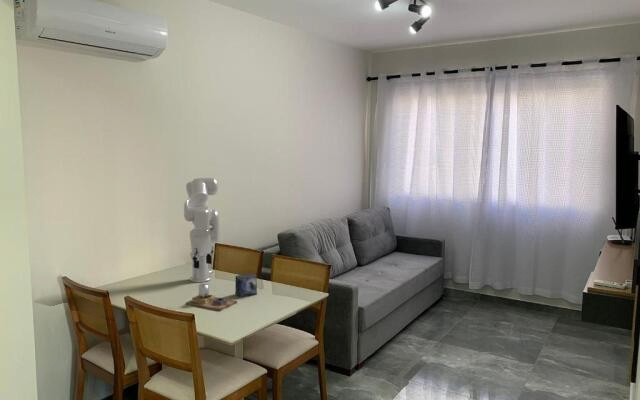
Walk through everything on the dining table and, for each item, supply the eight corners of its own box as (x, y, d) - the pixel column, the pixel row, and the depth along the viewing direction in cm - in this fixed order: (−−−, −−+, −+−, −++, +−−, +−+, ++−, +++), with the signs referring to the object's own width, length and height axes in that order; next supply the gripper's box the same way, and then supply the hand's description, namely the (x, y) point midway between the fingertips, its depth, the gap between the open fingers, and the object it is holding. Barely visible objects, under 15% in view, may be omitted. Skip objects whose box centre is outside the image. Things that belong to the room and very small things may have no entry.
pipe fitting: (203, 298, 255) (202, 283, 254) (210, 299, 253) (210, 284, 252) (196, 300, 250) (196, 286, 249) (204, 302, 248) (204, 287, 247)
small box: (238, 297, 260) (238, 278, 259) (235, 294, 265) (234, 275, 264) (257, 294, 265) (257, 276, 263) (253, 291, 270) (253, 273, 269)
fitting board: (203, 296, 260) (203, 291, 260) (237, 302, 251) (236, 297, 250) (185, 304, 248) (185, 298, 248) (220, 311, 238) (220, 305, 238)
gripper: (207, 229, 257) (207, 261, 259) (184, 235, 241) (185, 268, 243) (218, 231, 253) (219, 262, 256) (196, 237, 238) (197, 270, 240)
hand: (202, 265), depth 250 cm, fingers open, 9 cm apart
